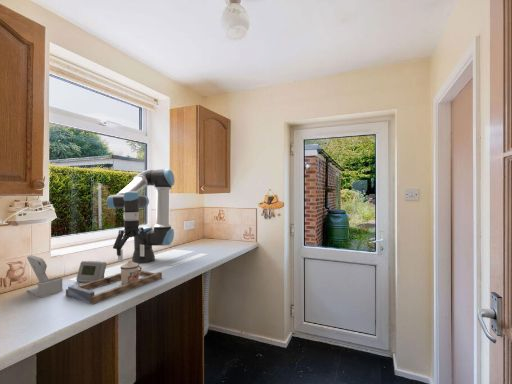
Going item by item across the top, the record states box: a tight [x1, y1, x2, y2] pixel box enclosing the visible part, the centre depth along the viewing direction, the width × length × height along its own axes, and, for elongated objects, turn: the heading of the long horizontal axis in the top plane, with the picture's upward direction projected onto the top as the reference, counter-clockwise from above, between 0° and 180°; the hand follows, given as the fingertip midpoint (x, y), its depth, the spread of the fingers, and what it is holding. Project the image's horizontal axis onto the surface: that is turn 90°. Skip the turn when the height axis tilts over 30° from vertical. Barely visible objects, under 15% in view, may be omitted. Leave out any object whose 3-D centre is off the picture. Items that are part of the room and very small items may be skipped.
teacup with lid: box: [120, 259, 143, 285], centre depth 148 cm, size 12×9×12 cm
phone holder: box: [26, 254, 64, 298], centre depth 134 cm, size 17×10×18 cm, turn 57°
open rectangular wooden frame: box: [65, 270, 163, 305], centre depth 140 cm, size 39×21×4 cm, turn 152°
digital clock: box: [75, 260, 107, 283], centre depth 148 cm, size 16×9×11 cm, turn 66°
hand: (131, 258), depth 147 cm, fingers open, 13 cm apart
